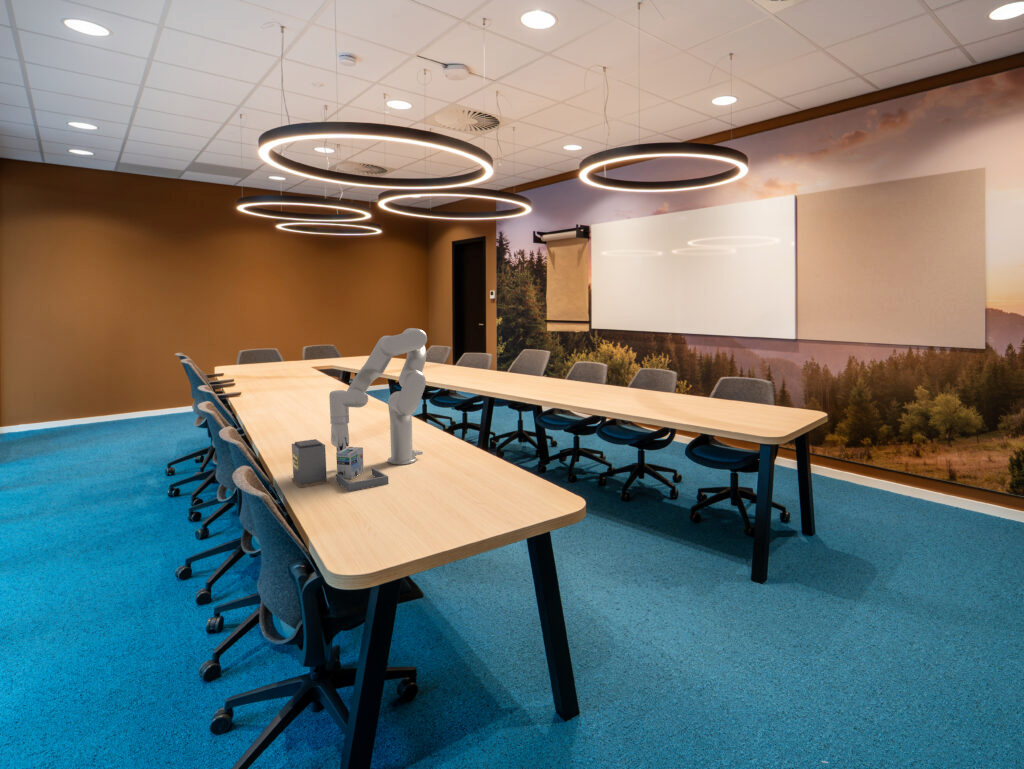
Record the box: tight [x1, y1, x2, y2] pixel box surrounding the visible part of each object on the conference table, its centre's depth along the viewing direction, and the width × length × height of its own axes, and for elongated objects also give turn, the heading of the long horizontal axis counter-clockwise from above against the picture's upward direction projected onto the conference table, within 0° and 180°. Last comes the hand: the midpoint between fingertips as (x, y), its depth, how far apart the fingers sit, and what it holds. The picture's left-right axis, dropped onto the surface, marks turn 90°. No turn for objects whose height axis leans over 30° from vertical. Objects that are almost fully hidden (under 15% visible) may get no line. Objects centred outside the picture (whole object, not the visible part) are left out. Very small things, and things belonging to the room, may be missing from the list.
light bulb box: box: [335, 446, 365, 480], centre depth 220 cm, size 11×7×11 cm, turn 168°
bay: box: [335, 467, 389, 492], centre depth 211 cm, size 16×15×3 cm
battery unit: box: [290, 438, 330, 489], centre depth 212 cm, size 11×12×16 cm
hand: (341, 461), depth 229 cm, fingers closed
